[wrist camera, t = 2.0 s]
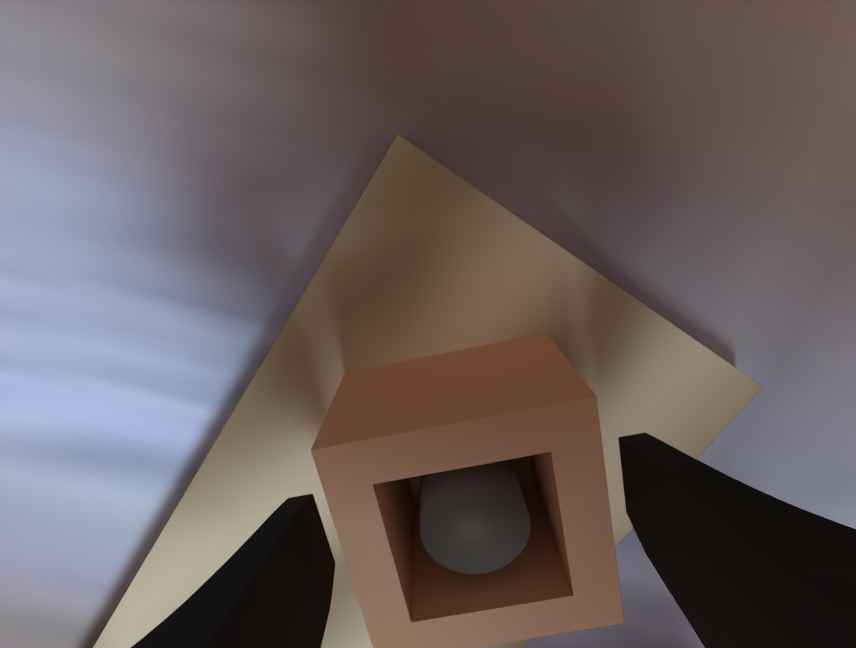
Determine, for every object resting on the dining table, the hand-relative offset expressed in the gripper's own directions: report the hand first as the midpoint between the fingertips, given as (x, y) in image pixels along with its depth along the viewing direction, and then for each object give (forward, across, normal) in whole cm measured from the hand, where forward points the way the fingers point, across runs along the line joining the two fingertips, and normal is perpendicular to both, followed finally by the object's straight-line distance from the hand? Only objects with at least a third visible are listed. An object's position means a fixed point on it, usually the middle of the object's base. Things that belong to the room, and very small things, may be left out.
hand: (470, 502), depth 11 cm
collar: (+3, 0, 0) cm, 3 cm away
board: (+4, +6, +6) cm, 9 cm away
